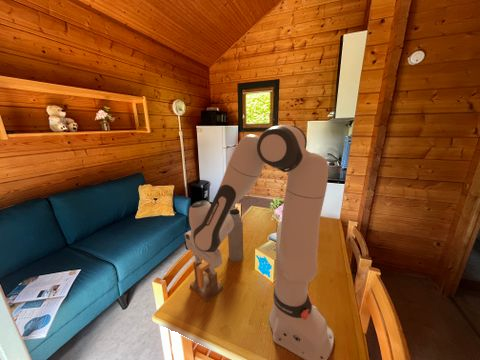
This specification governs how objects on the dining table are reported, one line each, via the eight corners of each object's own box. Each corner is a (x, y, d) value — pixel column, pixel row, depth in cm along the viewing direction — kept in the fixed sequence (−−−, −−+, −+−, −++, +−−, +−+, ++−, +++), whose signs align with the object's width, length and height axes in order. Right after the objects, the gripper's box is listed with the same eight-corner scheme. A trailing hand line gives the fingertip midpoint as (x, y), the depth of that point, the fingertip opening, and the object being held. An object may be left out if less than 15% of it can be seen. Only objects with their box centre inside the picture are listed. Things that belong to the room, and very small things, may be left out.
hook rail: (223, 288, 90) (222, 268, 87) (207, 301, 84) (205, 280, 80) (205, 274, 98) (204, 255, 95) (190, 286, 92) (187, 266, 88)
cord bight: (213, 279, 92) (212, 261, 89) (201, 288, 87) (199, 269, 84) (210, 276, 93) (209, 258, 90) (198, 285, 88) (196, 267, 85)
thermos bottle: (244, 252, 113) (243, 207, 105) (241, 262, 106) (240, 215, 98) (230, 251, 115) (229, 206, 106) (227, 260, 108) (225, 213, 99)
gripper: (225, 244, 79) (226, 272, 83) (194, 226, 92) (196, 252, 96) (212, 252, 74) (215, 282, 78) (182, 232, 87) (185, 258, 92)
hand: (204, 265), depth 87 cm, fingers open, 8 cm apart
